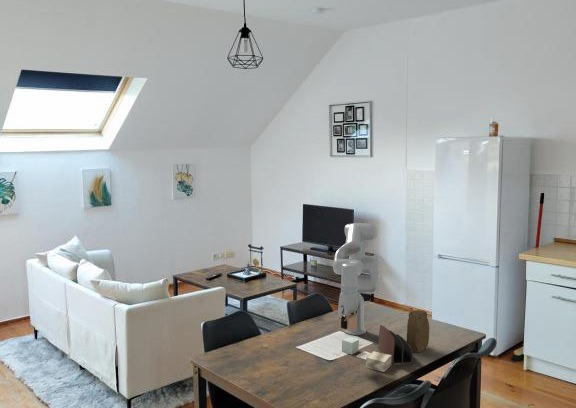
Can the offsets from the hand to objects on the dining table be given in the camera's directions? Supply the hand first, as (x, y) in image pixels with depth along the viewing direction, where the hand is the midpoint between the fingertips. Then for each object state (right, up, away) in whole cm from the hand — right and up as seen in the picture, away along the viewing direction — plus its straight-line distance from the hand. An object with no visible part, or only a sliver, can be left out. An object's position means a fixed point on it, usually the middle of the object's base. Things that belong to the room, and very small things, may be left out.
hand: (348, 326), depth 253 cm
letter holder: (+24, -17, +9) cm, 31 cm away
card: (+10, -17, +9) cm, 21 cm away
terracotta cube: (0, -1, 0) cm, 1 cm away
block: (+37, -16, +19) cm, 45 cm away
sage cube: (+3, -16, +15) cm, 22 cm away
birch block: (+14, -18, -2) cm, 23 cm away
